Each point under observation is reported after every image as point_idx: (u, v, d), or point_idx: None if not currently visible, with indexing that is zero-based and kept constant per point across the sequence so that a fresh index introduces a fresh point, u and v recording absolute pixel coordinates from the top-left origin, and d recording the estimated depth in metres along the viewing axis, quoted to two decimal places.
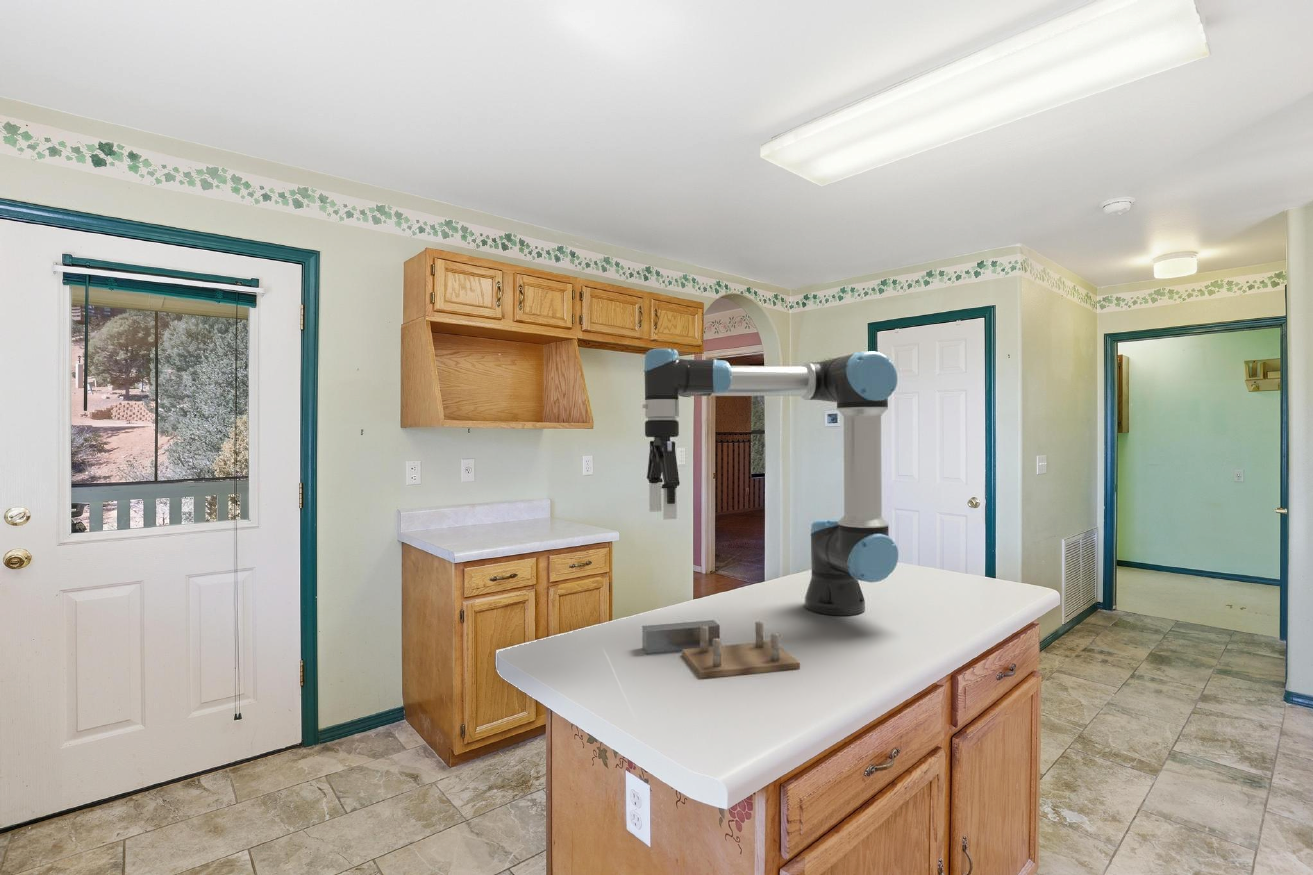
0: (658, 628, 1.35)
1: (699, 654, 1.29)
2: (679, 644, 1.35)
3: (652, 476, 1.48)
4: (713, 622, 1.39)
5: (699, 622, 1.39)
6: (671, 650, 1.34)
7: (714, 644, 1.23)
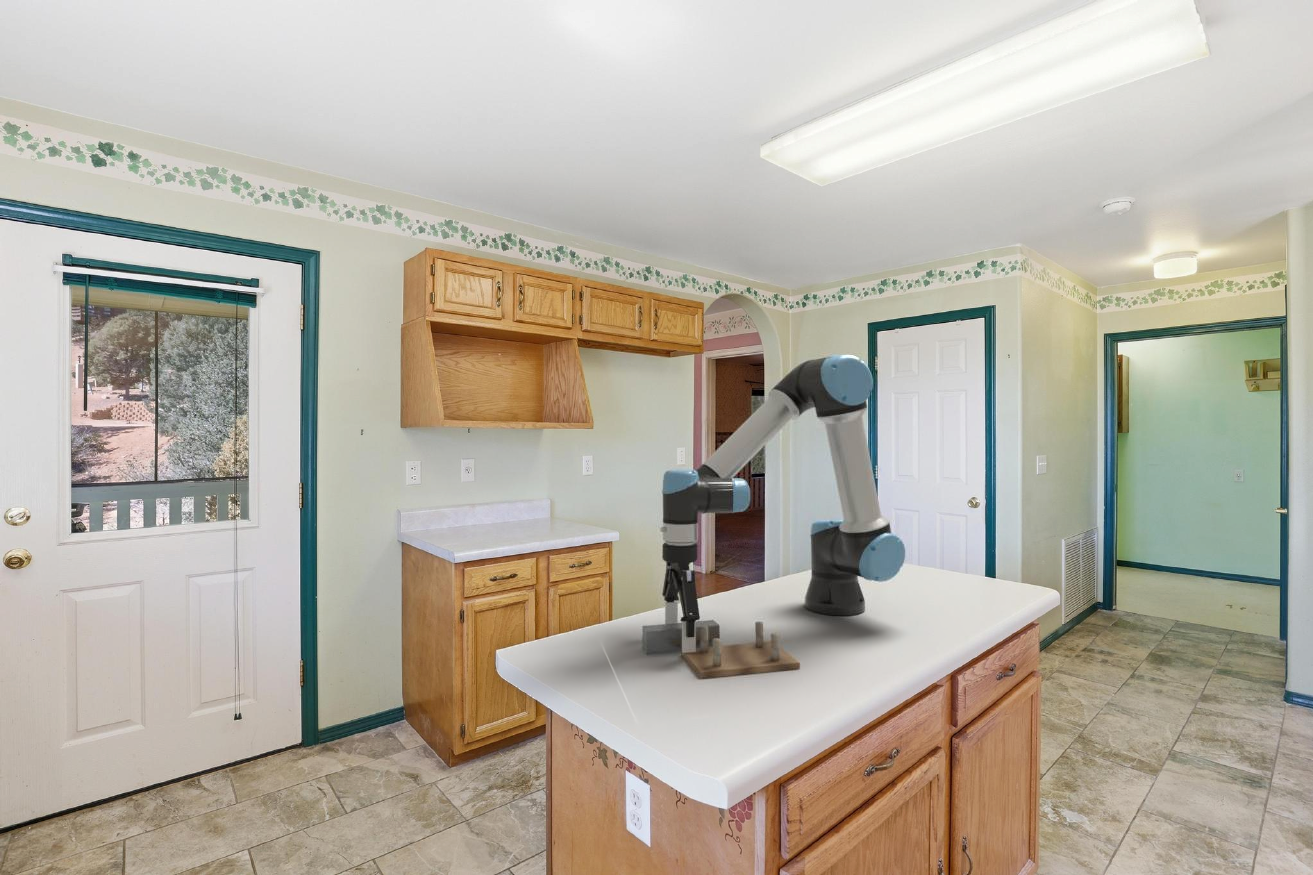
0: (658, 628, 1.35)
1: (699, 654, 1.29)
2: (679, 644, 1.35)
3: (668, 596, 1.43)
4: (713, 622, 1.39)
5: (699, 622, 1.39)
6: (671, 650, 1.34)
7: (714, 644, 1.23)
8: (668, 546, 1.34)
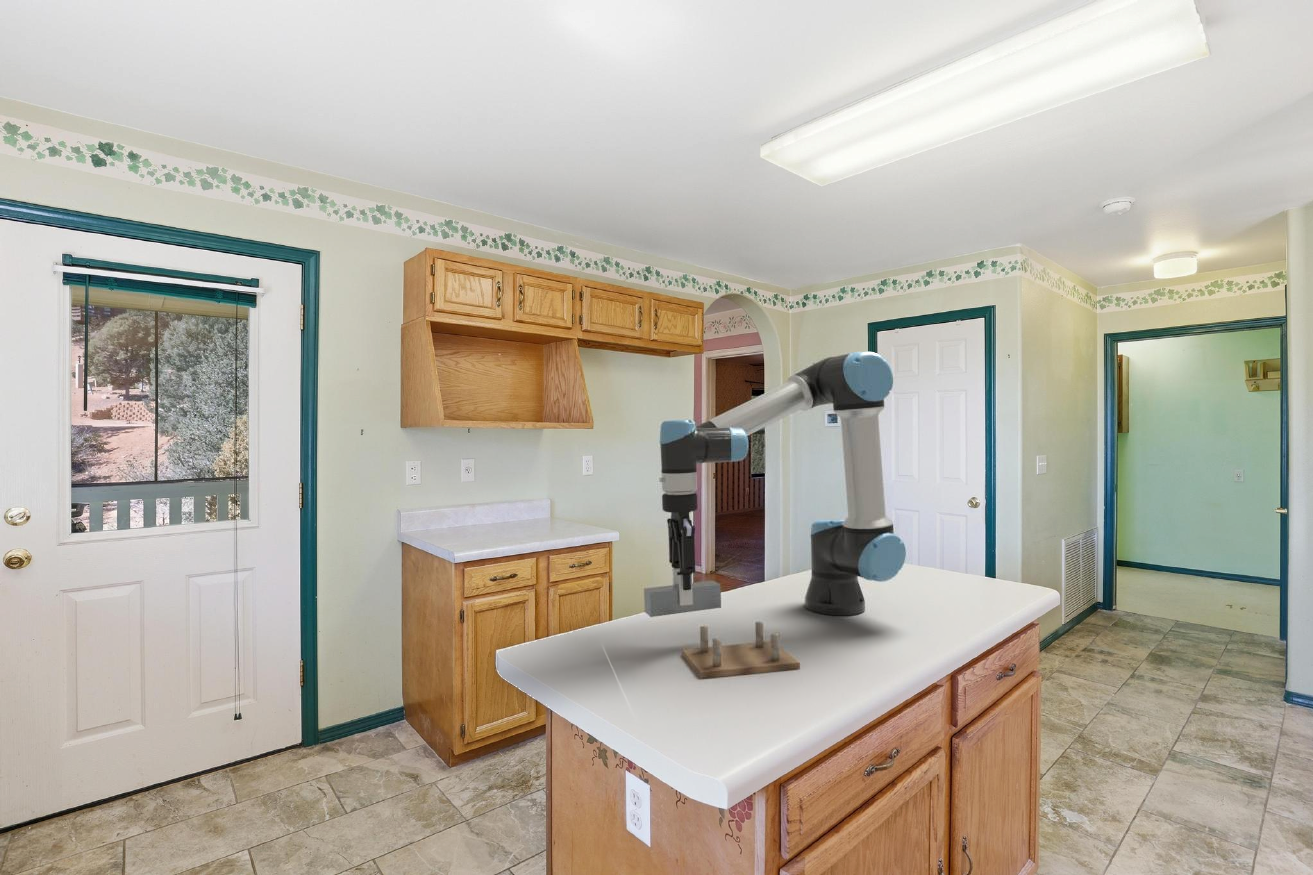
0: (660, 589, 1.35)
1: (699, 654, 1.29)
2: (682, 605, 1.35)
3: (674, 558, 1.39)
4: (713, 582, 1.40)
5: (699, 583, 1.40)
6: (674, 611, 1.34)
7: (714, 644, 1.23)
8: (667, 496, 1.34)
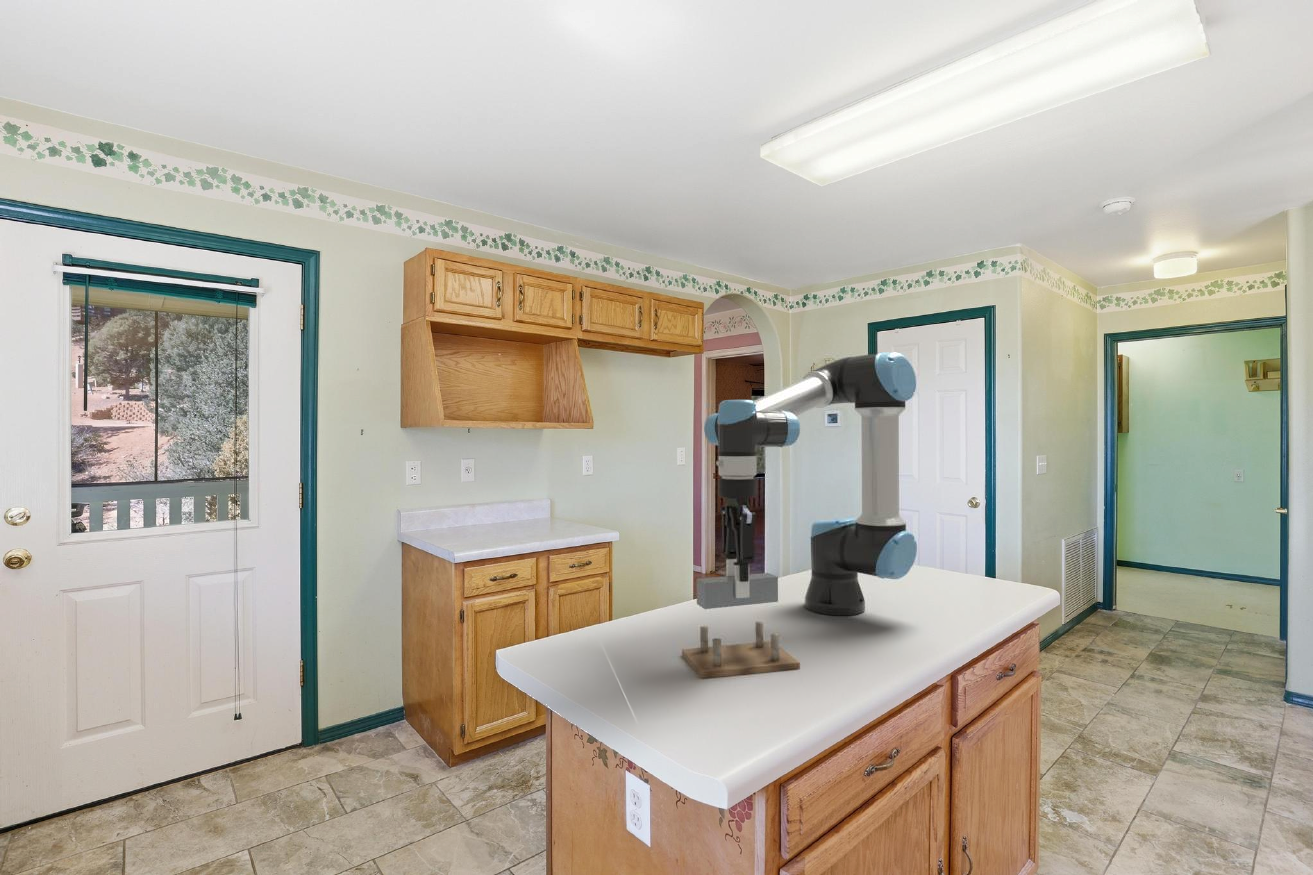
0: (715, 580, 1.26)
1: (699, 654, 1.29)
2: None
3: (729, 548, 1.30)
4: (769, 574, 1.31)
5: (754, 575, 1.31)
6: (729, 603, 1.25)
7: (714, 644, 1.23)
8: (725, 480, 1.26)
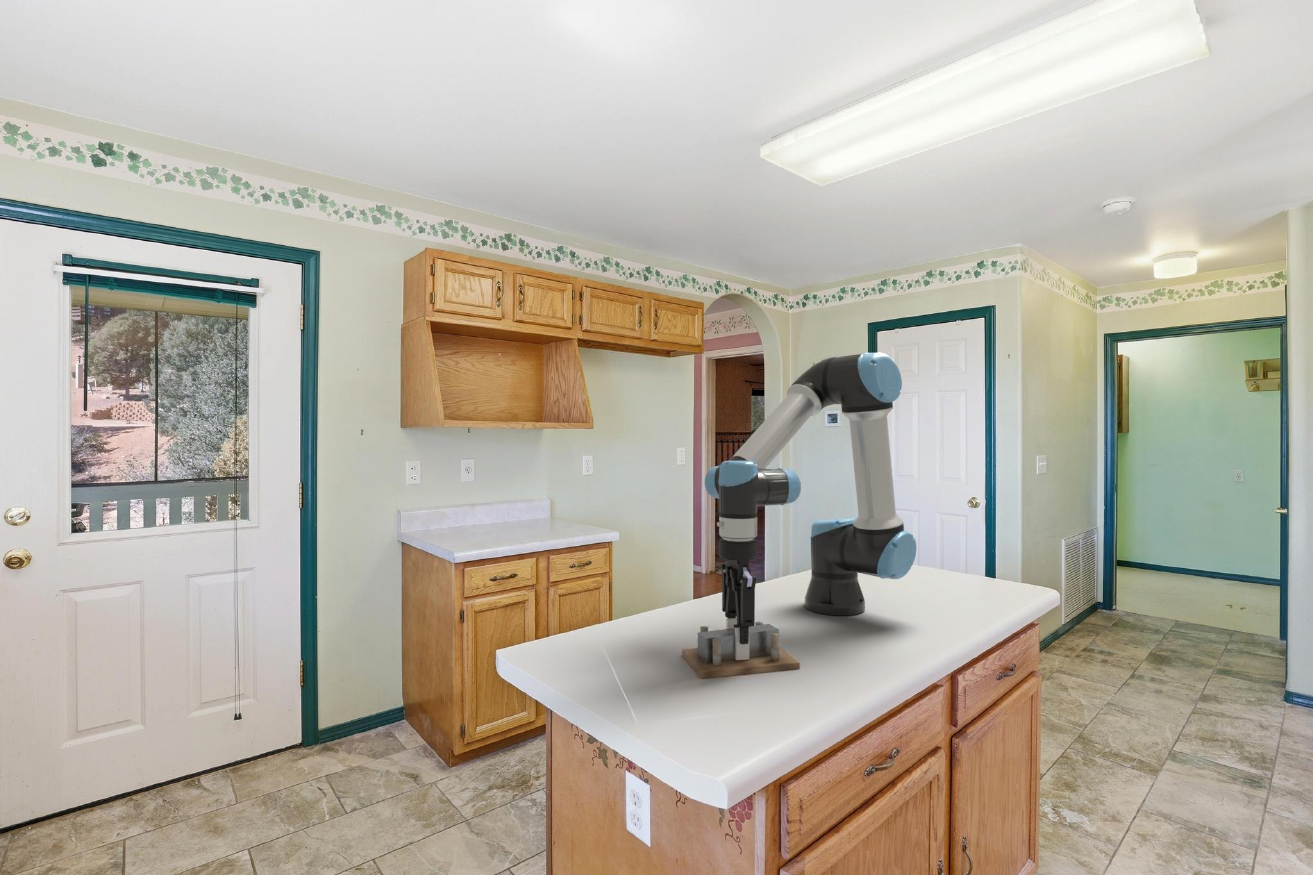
0: (715, 634, 1.26)
1: None
2: None
3: (729, 607, 1.30)
4: (770, 626, 1.31)
5: (755, 626, 1.31)
6: (730, 657, 1.26)
7: (714, 644, 1.23)
8: (726, 542, 1.26)
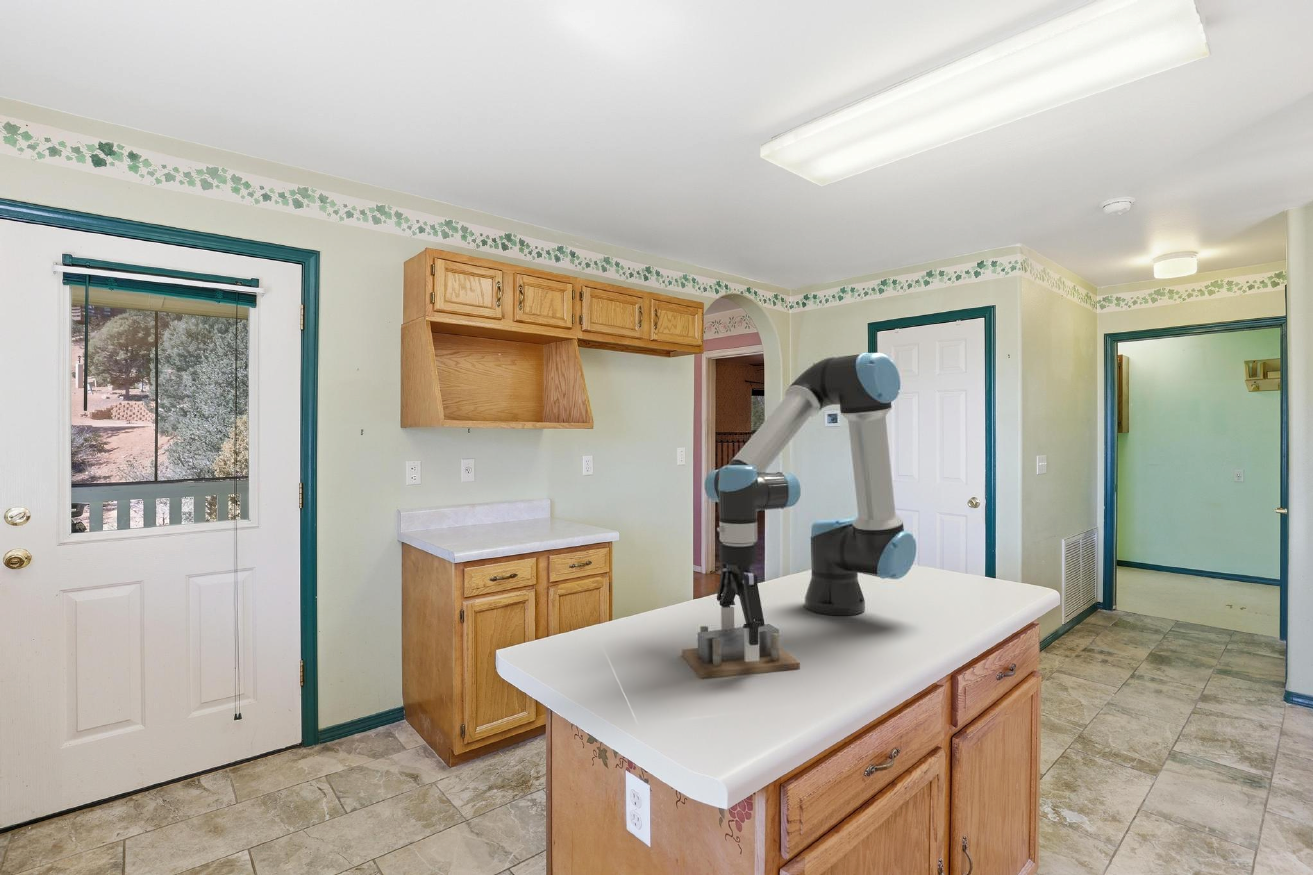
0: (715, 634, 1.26)
1: None
2: (738, 651, 1.26)
3: (724, 600, 1.34)
4: (770, 626, 1.31)
5: None
6: (730, 657, 1.26)
7: (714, 644, 1.23)
8: (726, 547, 1.26)
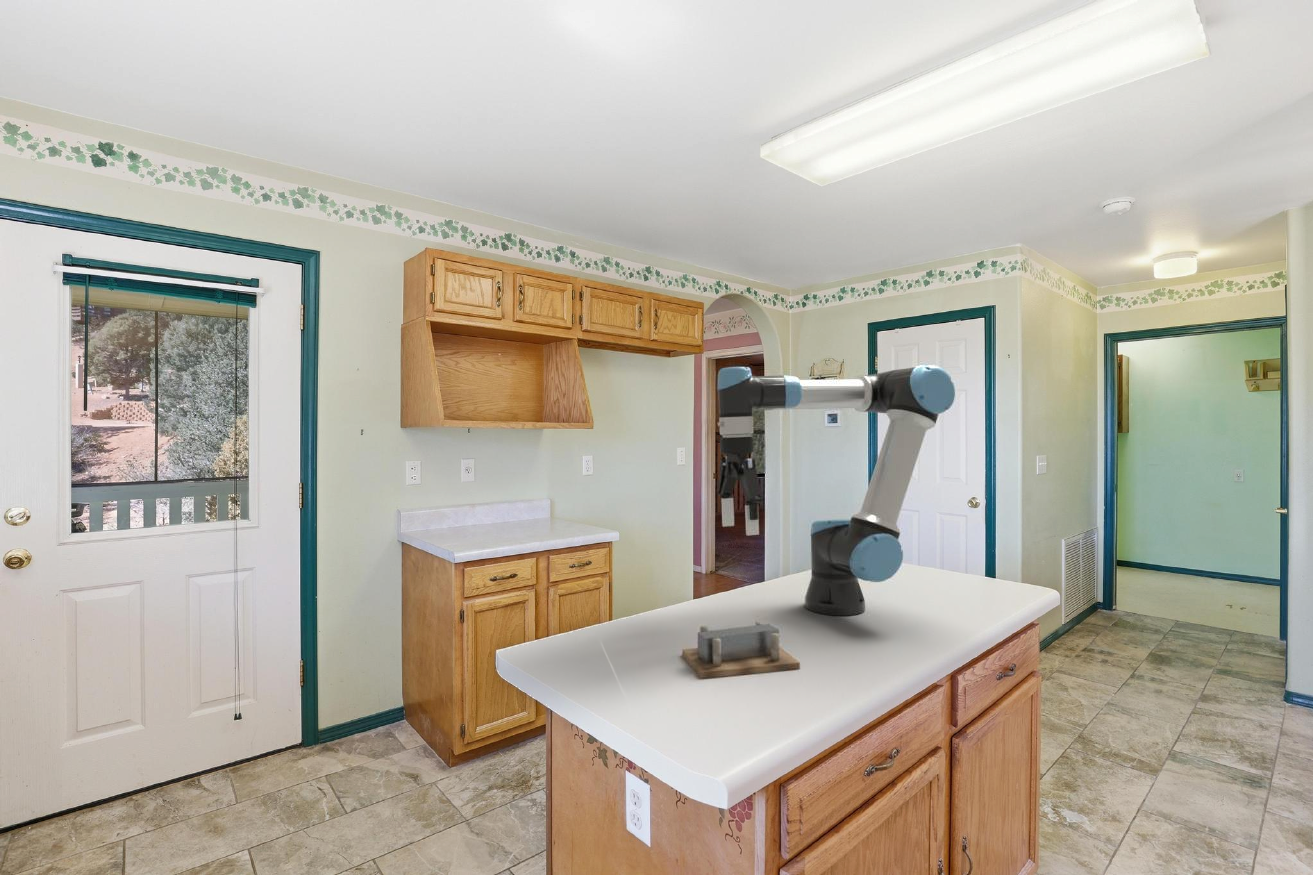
0: (715, 634, 1.26)
1: None
2: (738, 651, 1.26)
3: (724, 491, 1.50)
4: (770, 626, 1.31)
5: (755, 626, 1.31)
6: (730, 657, 1.26)
7: (714, 644, 1.23)
8: (727, 438, 1.42)
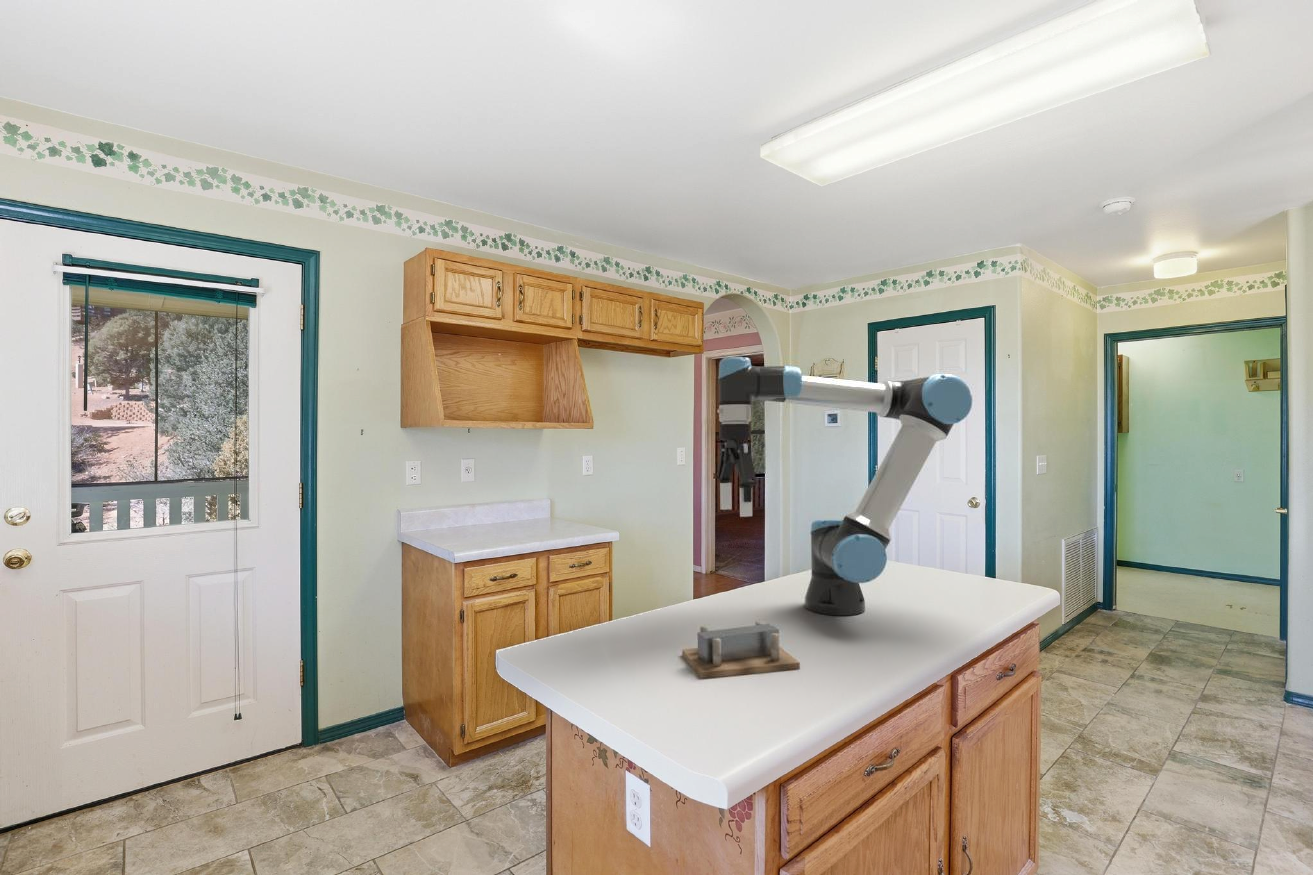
0: (715, 634, 1.26)
1: None
2: (738, 651, 1.26)
3: (723, 476, 1.58)
4: (770, 626, 1.31)
5: (755, 626, 1.31)
6: (730, 657, 1.26)
7: (714, 644, 1.23)
8: (725, 425, 1.50)
